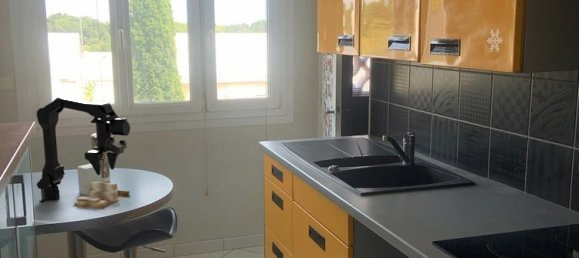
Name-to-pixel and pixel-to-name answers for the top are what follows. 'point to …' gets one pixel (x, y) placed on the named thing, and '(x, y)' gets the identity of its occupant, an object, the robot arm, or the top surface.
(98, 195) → the birch panel
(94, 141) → the log
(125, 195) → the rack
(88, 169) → the supplement box
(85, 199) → the offcut stack
